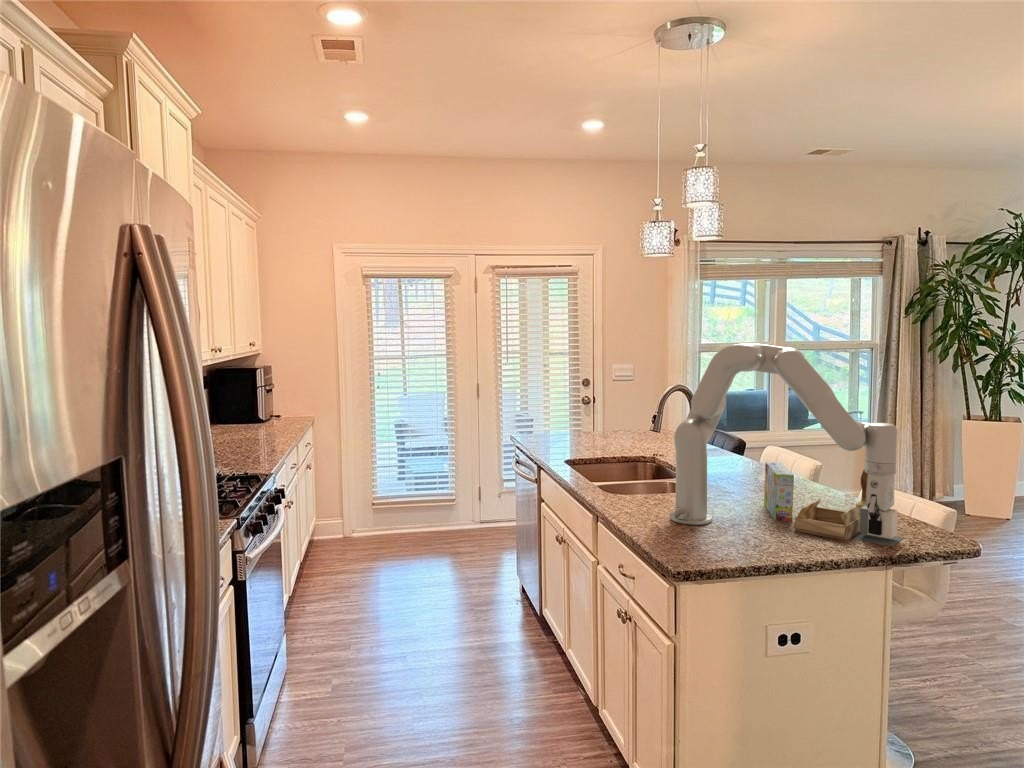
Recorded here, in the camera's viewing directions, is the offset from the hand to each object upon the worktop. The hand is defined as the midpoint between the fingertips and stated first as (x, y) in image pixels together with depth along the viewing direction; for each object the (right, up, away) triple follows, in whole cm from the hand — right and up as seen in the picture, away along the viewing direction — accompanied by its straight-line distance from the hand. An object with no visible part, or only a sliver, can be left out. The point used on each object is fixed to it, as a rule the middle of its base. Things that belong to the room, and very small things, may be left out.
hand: (878, 531), depth 185 cm
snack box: (-16, -1, +29) cm, 33 cm away
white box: (0, -1, 0) cm, 1 cm away
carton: (-9, -2, +9) cm, 13 cm away
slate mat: (0, -3, 0) cm, 3 cm away
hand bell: (+6, -1, +19) cm, 20 cm away
